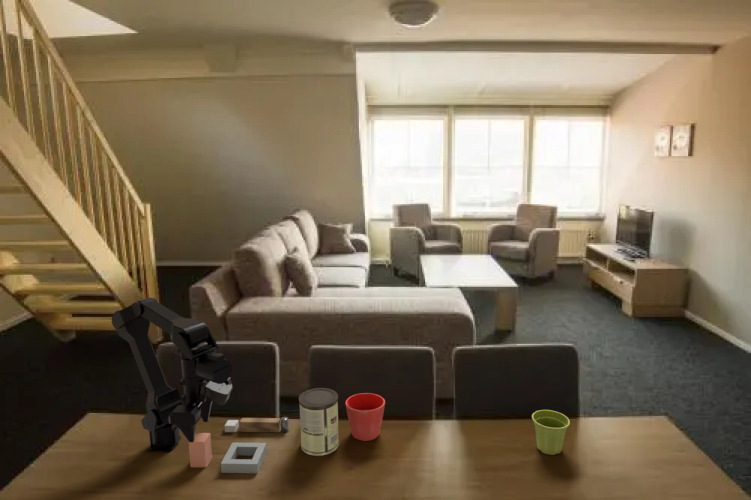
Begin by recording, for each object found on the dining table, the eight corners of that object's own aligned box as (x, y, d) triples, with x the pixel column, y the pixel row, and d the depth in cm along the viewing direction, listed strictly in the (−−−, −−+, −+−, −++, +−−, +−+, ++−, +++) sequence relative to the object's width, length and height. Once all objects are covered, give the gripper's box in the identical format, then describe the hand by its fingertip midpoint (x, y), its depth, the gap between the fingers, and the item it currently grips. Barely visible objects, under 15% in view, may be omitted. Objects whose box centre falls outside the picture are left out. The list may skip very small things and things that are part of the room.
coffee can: (305, 433, 137) (304, 386, 134) (341, 435, 136) (341, 388, 133) (296, 455, 127) (294, 405, 124) (335, 457, 126) (334, 407, 123)
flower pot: (349, 422, 143) (349, 391, 141) (387, 424, 141) (387, 393, 140) (342, 442, 133) (341, 409, 131) (382, 445, 131) (382, 412, 129)
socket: (221, 472, 120) (220, 463, 119) (233, 451, 129) (232, 442, 128) (257, 473, 120) (257, 464, 119) (266, 451, 128) (266, 443, 128)
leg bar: (280, 427, 140) (280, 418, 139) (278, 432, 138) (278, 422, 137) (242, 427, 140) (241, 417, 140) (240, 431, 138) (239, 421, 137)
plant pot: (528, 454, 127) (530, 424, 125) (531, 435, 135) (533, 407, 134) (567, 462, 123) (569, 431, 122) (567, 443, 132) (570, 413, 130)
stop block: (225, 432, 138) (224, 425, 137) (228, 426, 141) (228, 420, 140) (235, 432, 138) (235, 425, 137) (238, 426, 141) (238, 420, 140)
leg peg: (190, 467, 122) (188, 441, 121) (196, 457, 126) (194, 432, 125) (206, 467, 122) (204, 442, 121) (212, 457, 126) (210, 433, 125)
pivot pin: (280, 432, 138) (279, 420, 137) (281, 427, 140) (281, 416, 139) (287, 432, 138) (287, 420, 137) (289, 428, 140) (289, 416, 139)
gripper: (213, 391, 110) (217, 454, 113) (239, 358, 129) (241, 412, 131) (165, 390, 111) (170, 453, 113) (197, 357, 129) (201, 412, 132)
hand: (199, 431), depth 123 cm, fingers open, 9 cm apart
